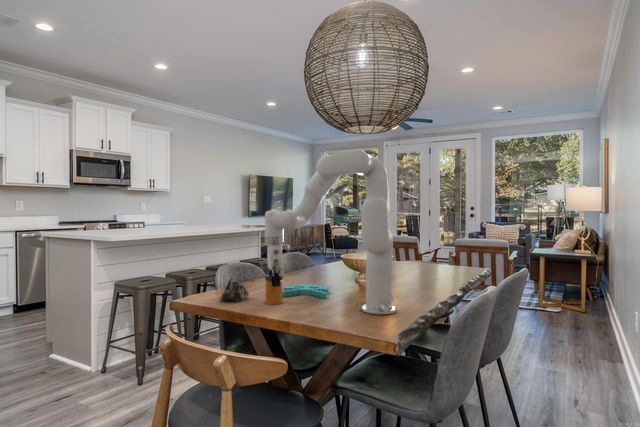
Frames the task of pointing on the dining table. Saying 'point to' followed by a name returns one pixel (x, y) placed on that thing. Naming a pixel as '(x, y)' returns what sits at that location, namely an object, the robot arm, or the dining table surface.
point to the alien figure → (306, 290)
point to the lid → (269, 277)
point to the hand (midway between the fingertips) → (273, 284)
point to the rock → (234, 291)
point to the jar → (273, 293)
